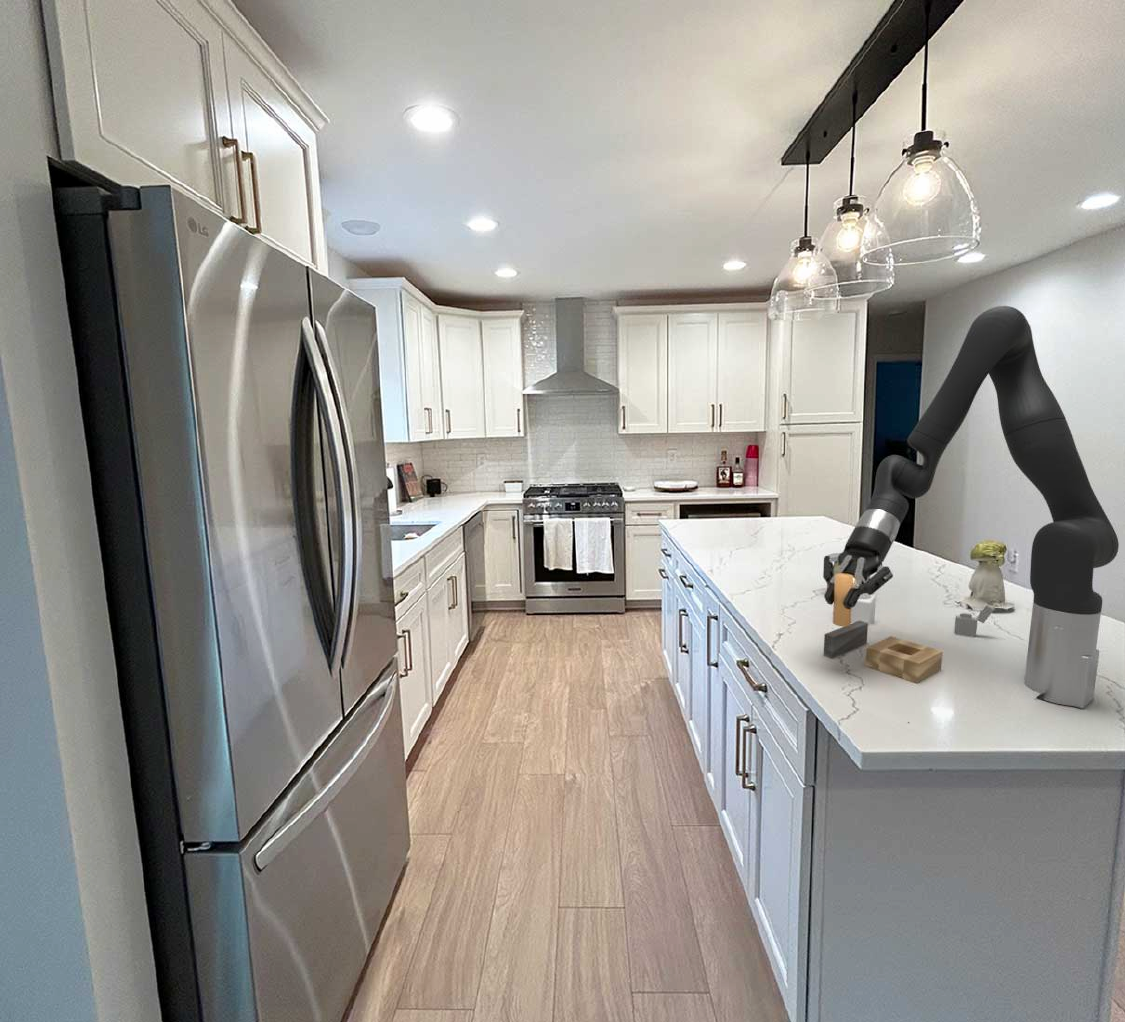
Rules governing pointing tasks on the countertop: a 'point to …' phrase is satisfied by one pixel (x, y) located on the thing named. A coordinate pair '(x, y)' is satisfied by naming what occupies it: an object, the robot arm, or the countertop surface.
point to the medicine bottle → (864, 608)
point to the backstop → (845, 639)
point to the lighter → (971, 622)
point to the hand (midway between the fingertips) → (837, 604)
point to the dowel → (842, 599)
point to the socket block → (904, 659)
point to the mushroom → (987, 578)
